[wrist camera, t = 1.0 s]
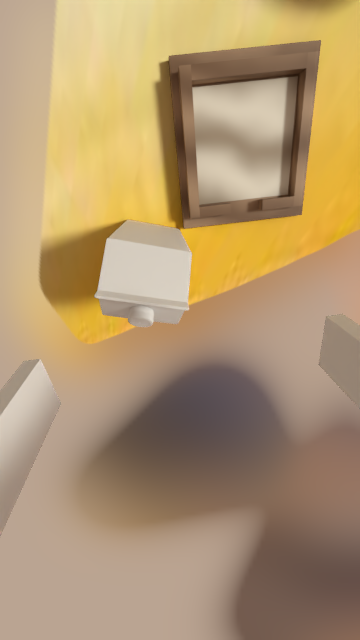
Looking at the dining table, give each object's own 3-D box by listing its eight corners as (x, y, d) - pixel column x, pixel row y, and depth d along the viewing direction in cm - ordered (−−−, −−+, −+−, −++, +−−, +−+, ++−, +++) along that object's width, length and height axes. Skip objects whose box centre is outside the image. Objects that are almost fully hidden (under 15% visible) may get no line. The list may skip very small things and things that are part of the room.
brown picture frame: (168, 60, 27) (169, 48, 25) (315, 45, 27) (329, 32, 25) (183, 227, 35) (185, 229, 33) (297, 214, 35) (307, 215, 33)
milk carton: (127, 219, 34) (95, 247, 17) (179, 228, 35) (198, 264, 18) (122, 270, 37) (92, 337, 20) (170, 277, 38) (180, 347, 21)
